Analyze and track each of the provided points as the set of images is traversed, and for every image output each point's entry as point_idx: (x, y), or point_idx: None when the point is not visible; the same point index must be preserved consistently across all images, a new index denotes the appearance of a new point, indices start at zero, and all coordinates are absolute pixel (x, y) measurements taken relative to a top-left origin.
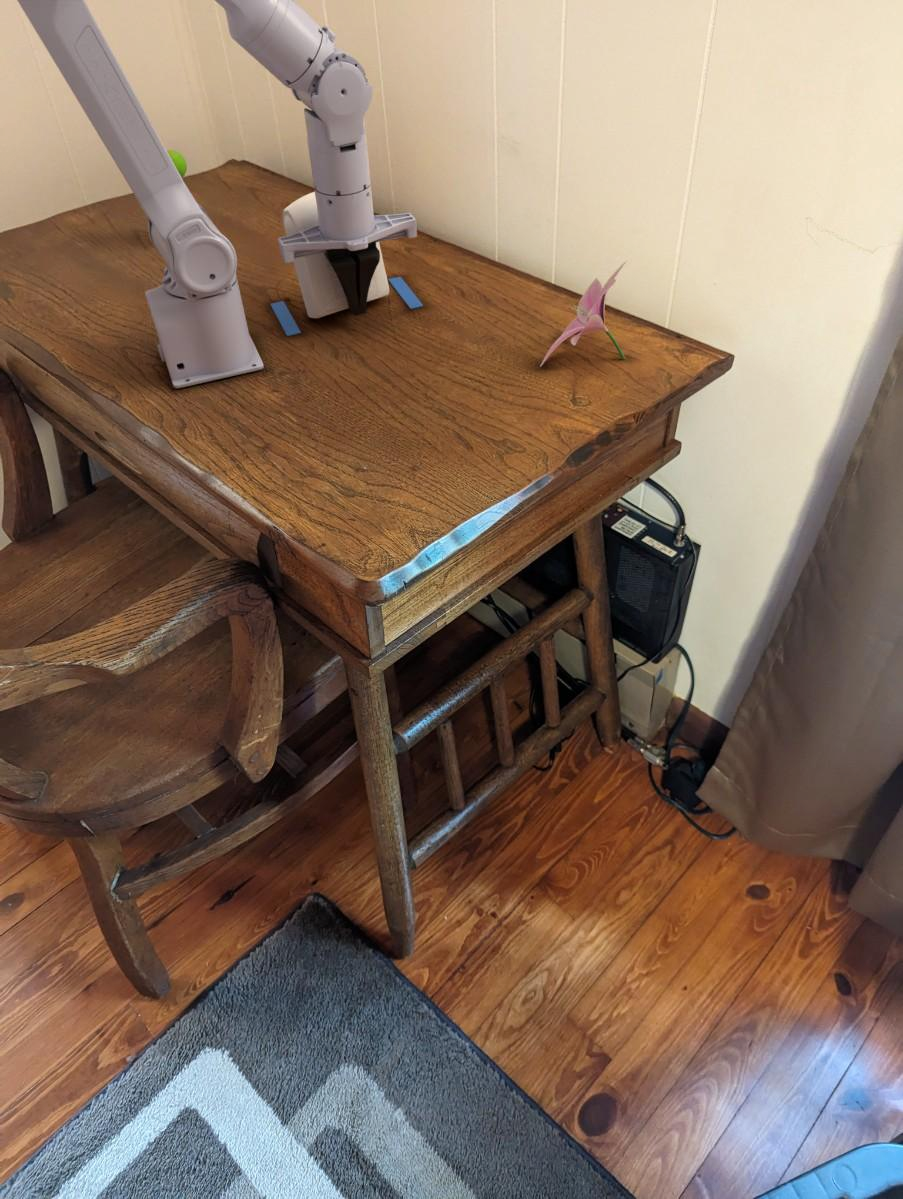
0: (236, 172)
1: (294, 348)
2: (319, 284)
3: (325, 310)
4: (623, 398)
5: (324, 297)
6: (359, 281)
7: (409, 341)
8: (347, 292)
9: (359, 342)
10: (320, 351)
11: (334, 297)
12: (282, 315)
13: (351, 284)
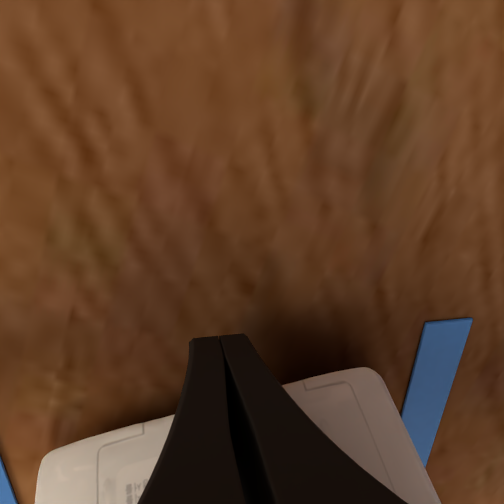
0: None
1: (492, 238)
2: None
3: (350, 384)
4: None
5: (362, 435)
6: (237, 471)
7: (14, 102)
8: (305, 415)
9: (259, 190)
10: (427, 181)
11: None
12: (424, 424)
13: (293, 453)
